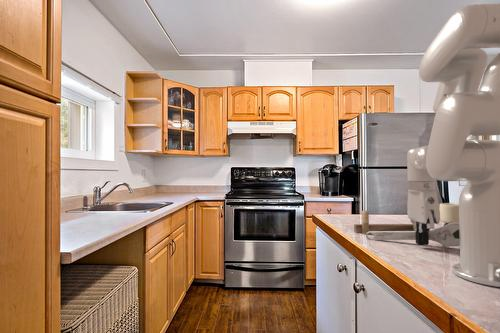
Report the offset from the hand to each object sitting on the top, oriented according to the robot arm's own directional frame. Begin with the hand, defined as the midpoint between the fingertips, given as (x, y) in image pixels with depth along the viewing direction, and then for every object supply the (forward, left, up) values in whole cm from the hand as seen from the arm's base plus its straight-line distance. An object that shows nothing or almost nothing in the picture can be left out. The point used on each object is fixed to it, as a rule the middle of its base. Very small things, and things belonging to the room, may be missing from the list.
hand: (422, 244), depth 87 cm
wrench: (+5, 0, -2) cm, 5 cm away
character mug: (+8, -15, -2) cm, 17 cm away
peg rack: (+22, 0, -1) cm, 22 cm away
